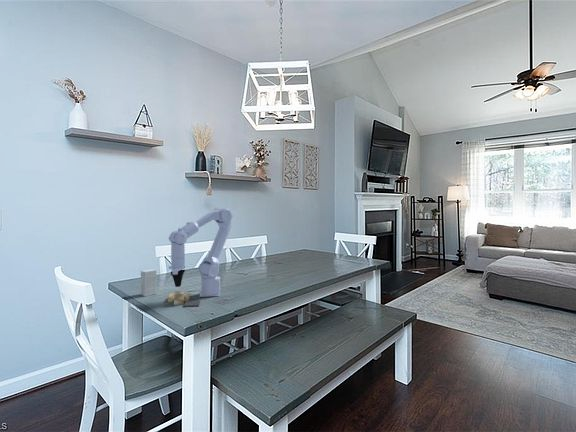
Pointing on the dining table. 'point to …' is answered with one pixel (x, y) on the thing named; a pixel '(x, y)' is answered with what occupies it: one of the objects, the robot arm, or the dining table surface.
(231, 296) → the dining table surface
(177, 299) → the plug block
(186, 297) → the pair of wooden bars
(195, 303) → the rubber mat
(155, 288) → the skincare box
